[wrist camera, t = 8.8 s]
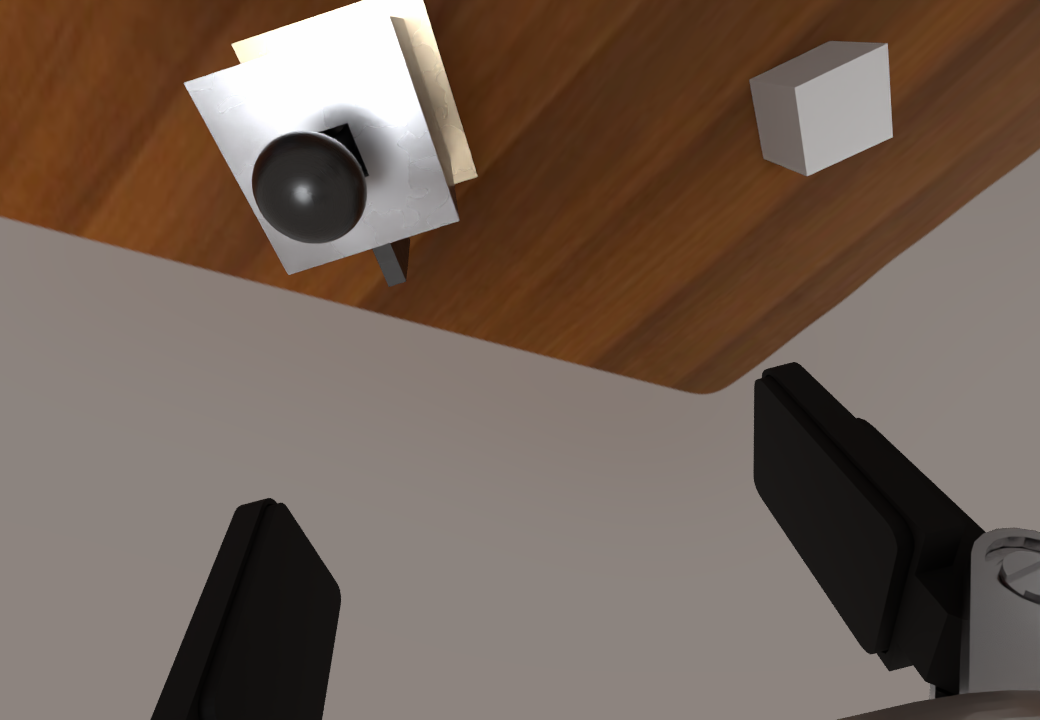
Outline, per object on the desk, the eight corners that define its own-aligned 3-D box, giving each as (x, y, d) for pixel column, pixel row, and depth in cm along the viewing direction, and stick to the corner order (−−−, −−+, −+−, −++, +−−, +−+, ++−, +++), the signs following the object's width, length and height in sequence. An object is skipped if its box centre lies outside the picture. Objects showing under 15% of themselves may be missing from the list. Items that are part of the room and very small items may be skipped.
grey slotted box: (417, -17, 34) (410, -40, 22) (482, 193, 41) (504, 264, 29) (234, 43, 35) (127, 54, 22) (330, 241, 42) (287, 332, 30)
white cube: (837, 123, 42) (892, 137, 37) (762, 158, 43) (806, 176, 38) (829, 40, 39) (888, 43, 34) (748, 79, 40) (794, 87, 35)
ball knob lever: (386, 50, 31) (349, 73, 17) (426, 163, 35) (423, 260, 21) (279, 86, 32) (155, 136, 17) (329, 194, 35) (259, 311, 21)
